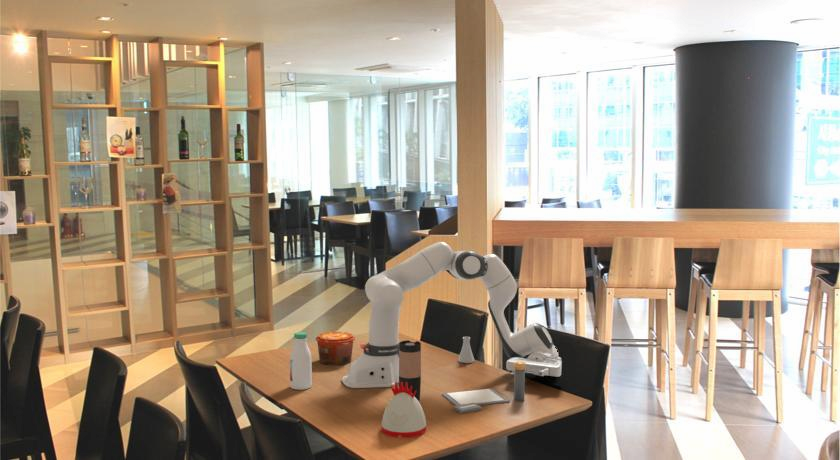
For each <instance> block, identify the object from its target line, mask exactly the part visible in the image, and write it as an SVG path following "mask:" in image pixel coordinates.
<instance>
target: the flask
mask: <svg viewBox="0 0 840 460" xmlns="http://www.w3.org/2000/svg"><path fill="white" fill-rule="evenodd" d="M462 340H463V342H462V347H461V351H460V353H459V355H458V358H457V361H458V363H462V364H472V363H475V362H476V360H475V358H474V355H473V351H472V348H471V343H470V342H471V337H470V336H463V337H462Z"/></svg>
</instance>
